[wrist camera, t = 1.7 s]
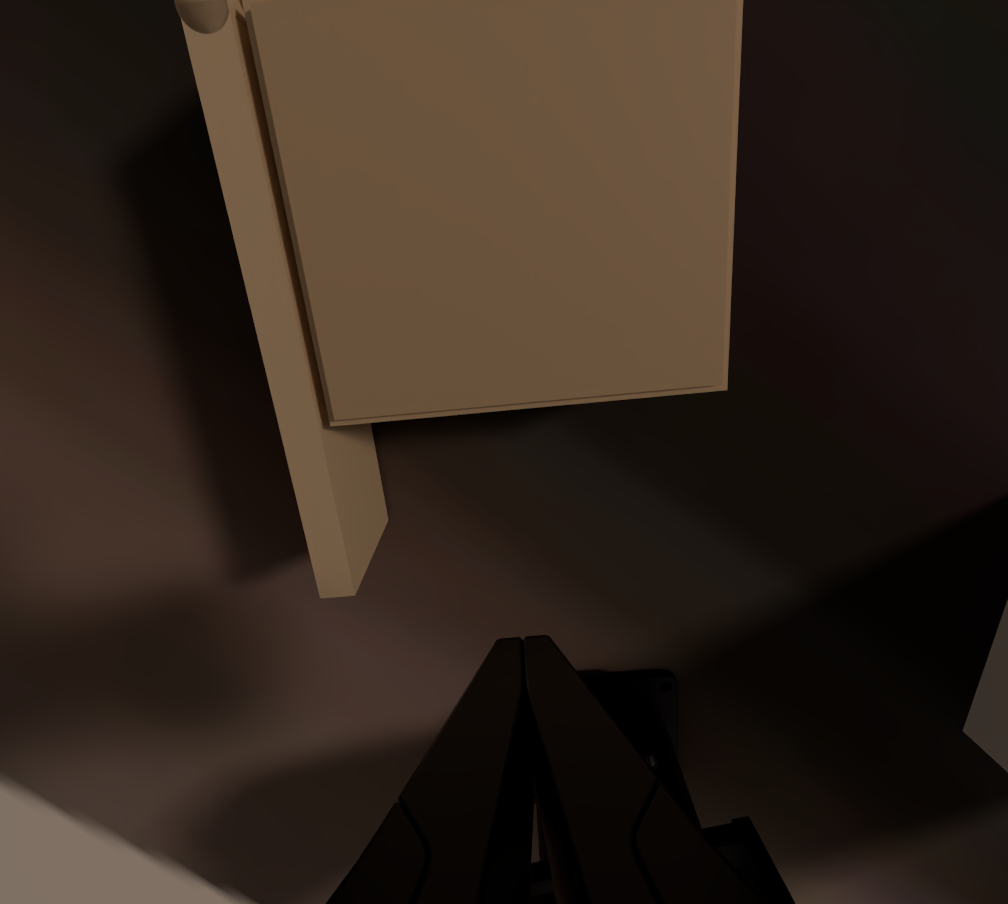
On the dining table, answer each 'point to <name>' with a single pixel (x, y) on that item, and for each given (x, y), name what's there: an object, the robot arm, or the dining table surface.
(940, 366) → the dining table surface
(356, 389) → the carton
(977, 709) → the milk
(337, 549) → the flap
